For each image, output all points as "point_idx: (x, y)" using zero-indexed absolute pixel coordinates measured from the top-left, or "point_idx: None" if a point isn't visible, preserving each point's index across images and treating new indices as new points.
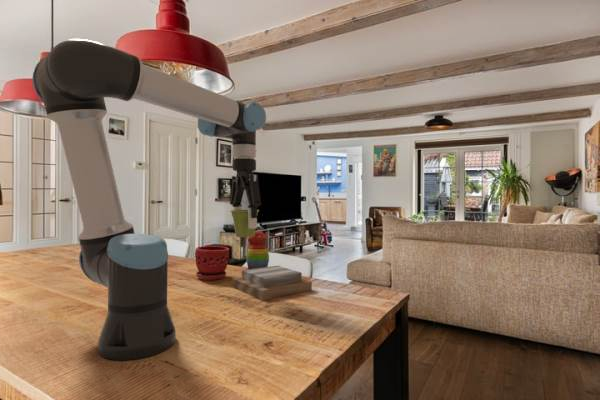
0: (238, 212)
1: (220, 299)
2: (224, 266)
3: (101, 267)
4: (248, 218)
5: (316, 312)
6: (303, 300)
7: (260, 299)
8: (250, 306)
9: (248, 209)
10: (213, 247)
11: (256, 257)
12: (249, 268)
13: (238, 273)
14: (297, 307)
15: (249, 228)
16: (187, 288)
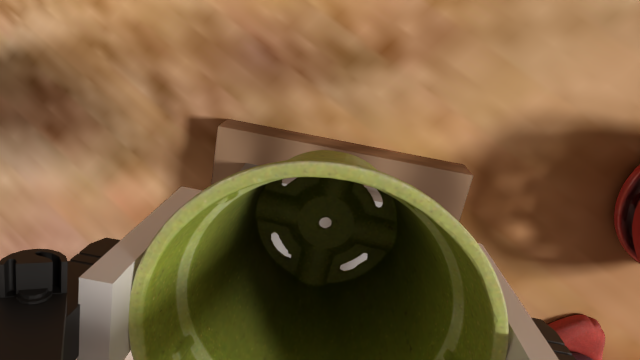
0: (236, 184)
1: (353, 15)
2: (636, 250)
3: None
4: (162, 224)
5: (10, 152)
6: (131, 217)
7: (235, 120)
8: (198, 42)
9: (113, 271)
10: None
11: None
12: (575, 354)
13: (625, 323)
14: (85, 149)
15: (180, 187)
16: (613, 10)
